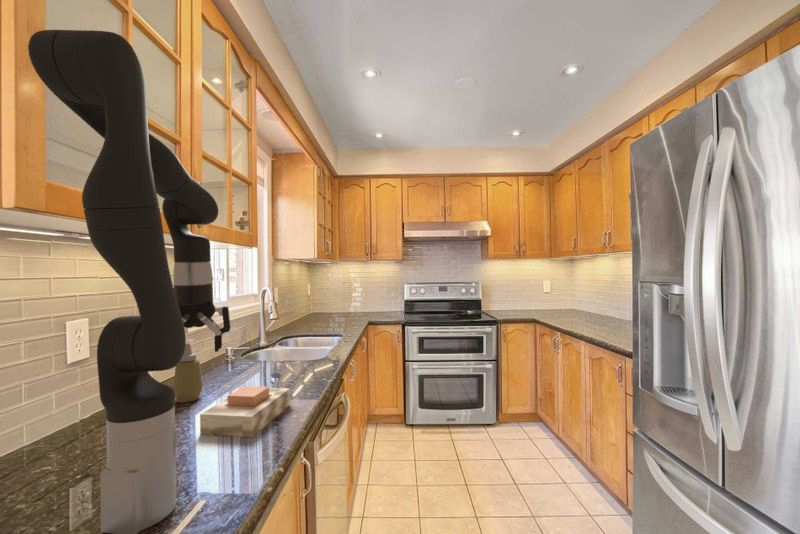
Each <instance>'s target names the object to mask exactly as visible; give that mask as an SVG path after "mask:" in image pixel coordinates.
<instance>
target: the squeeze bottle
mask: <svg viewBox="0 0 800 534" xmlns="http://www.w3.org/2000/svg"><path fill="white" fill-rule="evenodd" d="M174 368H175V370H174V377H173V378H174V379H173V380H174V381H173V386H172V389H173V390H174V393H175V400H176V401H177V402H178V403H181V404H184V403H190V402H193V401H196V400H198V399H199V398H200V395H201V393H202V389H203V385H204V384H203V378H202V369H201V362H200V360H198V359H197V353H195V352H193V350H192V347H191V343H190V342H187V343H186V345H185V351H184V354H183V357H182V359H181V361H180V362H179V363H178V364H177V365H176V366H175V367H174Z"/></svg>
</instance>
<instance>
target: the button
mask: <svg viewBox="0 0 800 534" xmlns="http://www.w3.org/2000/svg"><path fill="white" fill-rule="evenodd" d="M269 388H270V387H269V386H257V385H255V386H253V385H251V386H250V385H244V386H242V387H240V388H238V389H237V390H235V391H233V392H232V393H230V394H228V395H227V398H228V406H235V407H256V406H258V405H259V404H260V403H262V402H263V401H265V400H266V399H268V398H269Z"/></svg>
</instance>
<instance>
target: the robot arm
mask: <svg viewBox="0 0 800 534" xmlns="http://www.w3.org/2000/svg"><path fill="white" fill-rule="evenodd" d="M27 50H28V56H29V59H30V62H31V65H32V67H33V68H34V71H35V72H36V74H37V76H38V78H40V80H41V82H43V84H44V85H45V86H46V87H47V89H49V91H51V92H52V94H53V95H54V96H55V97H56V98H58V100H60V101H61V102H62V103H63V104H65V106H66V107H67V108H68V109H70V110H71V111H72V112H73V113H74V114H76V116H78V117H79V118H80V119H81V120H83V122H85V123H86V124H87V125H88V126H89V127H90V128H91V129H93V131H95V132H96V133H97V134H98V135H100V136H101V138H103V139H104V141H103V145H102V148H101V149H100V152H99V154H98V157H97V158H96V160H95V162H94V164H93V165H92V167H91V171H90V172H89V174H88V177H87V178H86V181H85V183H84V186H83V189H82V194H81V201H82V207H83V214H84V217H85V223H86V226H87V230H88V231H87V232H88V235H89V239H90V241H91V243H92V246H93V247H94V248H95V249H96V251H97V252H98V254H99V255H100V256H101V258H102V259H103V260H104V261H105V262H106V263H107V264H108V265H109V266H110V267H111V268H112V269H113V271H114V272H115V273H116V274H117V275H118V276H119V277H120V278H121V280H122V281H123V282H124V283H125V284H126V285H127V287H128V288H129V290H130V292H131V294H132V296H133V298H134V300H135V303H136V305H137V309H138V313H139V315H125V316H124V315H123V316H120V317H116V318H114V319H111V320H110V321H109V322H107V323H106V325H105V326H104V327H103V329H102V330H101V332H100V335H99V337H98V341H97V346H96V347H97V348H96V364H97V375H98V387H99V398H100V402H101V404H102V406H103V408H104V410H105V415H106V417H105V418H106V422H105V423H106V426H105V427H106V468H104V469H103V470H102V471H100V474H99V476H100V477H99V479H100V483H99V484H100V485H99V486H100V533H103V534H104V533H105V534H139V533H141V532H142V531H143V530H146V529H148V528H150V527H152V526H154V525H156V524H158V523H159V522H161V521H162V520H164V519H165V518H166V517H168V516H169V515H170V514H171V513H172V512H173V511H174V510H175V507H176V505H177V471H176V470H177V468H176V465H177V463H176V458H177V457H176V397H175V393H174V390H173V387H171V386H169V385H167V384H164V383H163V382H160V381H158V380H157V379H155V378H153V377H152V376H151V374H150V373H149V372H162V371H167V370H171V369H174V368H176V365H177V364H178V363H179V362H180V361H181V359H182V357H183V354H184V351H185V345H186V340H187V339H186V331H185V328H186V329H189V328H190V329H191V328H194V327H195V328H203V327H204V326H206V327H207V328H208V329H209V330H210V331H212V333H214V338H213V339H214V352H215V353H218V352H220V351H219V350H221V349H222V346H223V334H225V333H229V332H231V331H230V329H231V318H230V309H229V308H230V307H229V306H228V304H224V305H223V306H217V307H216V306H215V305H214V292H213V291H214V289H213V288H214V287H213V281H214V277H213V269H212V263H211V261H212V260H211V241H210V239H209V237H206V236H203V235H200V234H194V233H192V232H191V230H190V228H189V225H192V226H193V225H195V226H196V225H199V226H200V225H210V224H213V223H214V222H215V221H216V219H218V216H219V206H218V205H219V204H218V203H217V201H216V199H215V197H214V196H213V195H212V194H211V193H210V191H208V190H207V189H206V188H205V187H204V186H203V185H202V184H200V183H199V182H198V181H197V179H194V178H193V177H191V176H190V174H189V173H188V171H187V170H186V168H185V166H184V165H183V164H182V162H181V161H180V159H179V158H178V156H177V155H176V154H175V153H174V152H173V151H172V149H171V148H170V147H168V146H167V145H166V144H165V143H163V142H162V141H161V140H159V138H157V137H155V136H154V135H152V134H151V133H149V124H148V112H147V111H148V108H147V107H148V106H147V96H146V95H147V93H146V85H145V79H144V78H145V77H144V72H143V68H142V66H141V65H142V64H141V62H140V60H139V57H138V55H137V53H136V51H135V50H134V47H133V46H132V45H131V44H130V42H129V41H128V40H127V39H126V38H125V37H123V36H122V35H120V34H118V33H117V32H116V33H115V32H111V31H106V30H94V29H93V30H91V29H90V30H87V29H86V30H83V29H81V30H79V29H77V30H75V29H74V30H73V29H42V30H38V31H36V32H34V33H33V34H32V35H31V36H30V38H29V40H28V47H27ZM158 196H159V197H161V198H163V201H162V205H161V207H162V208H161V207H160V203H159V198H158ZM161 210H162V213H163V217H164V220H165V223H166V225H167V228H168V230H169V235H170V237H171V239H172V243H173V261H174V263H173V272H172V273H173V274H172V276H173V277H171V270H170V267H169V263H168V262H169V261H168V256H167V251H166V250H167V249H166V243H165V237H164V230H163V229H164V227H163V221H162V216H161V214H162V213H161ZM172 278H173V280H172ZM215 313H218V315H219V316H220V317H222V322H223V323H222V324H223V326H222V327H220V326H219V325H218V324H217V322H216V321H215V320H214V319H213V317H214V315H215Z"/></svg>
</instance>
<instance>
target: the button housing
mask: <svg viewBox="0 0 800 534" xmlns="http://www.w3.org/2000/svg"><path fill="white" fill-rule="evenodd" d="M290 391H291V388H289V387H288V388H285V387H283V388H281V387H269V398H268V399H266V400H265V401H263V402H262V403H260V404H259V405H258V406H256V407H235V406H228V397H227V398H226V399H224V400H223V401H220V402H219V403H217V404H215V405H214V406H211V407H210V408H208V409H207V410H204V411H202V412H201V413H200V414H199V423H200V424H199V428H200V429H199V430H200V432H199V434H200V435H204V434H205V435H206V434H217V435H216V436H222V435H228V436H227V437H239V438H240V437H243V438H253V437H254V436H255V435H257V434H258V433H259V432H260V431H261V430H262V429H264V428H265V427H266V426H267V425H268V424H270V423H271V422H272V421H273V420H274V419H275V418H277V417H278V416H280V414H281V413H283V412H284V411H285V410H286V409H288V408H289V407H290V405H291V392H290Z"/></svg>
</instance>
